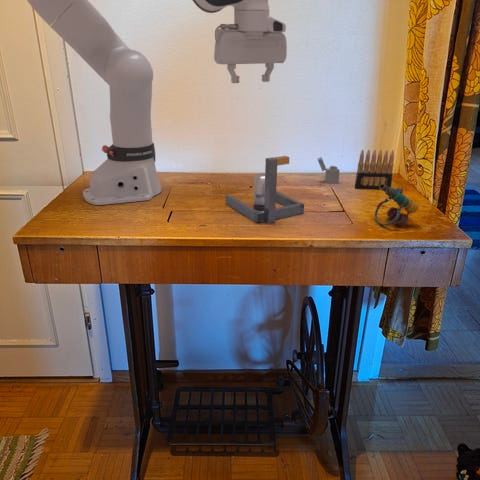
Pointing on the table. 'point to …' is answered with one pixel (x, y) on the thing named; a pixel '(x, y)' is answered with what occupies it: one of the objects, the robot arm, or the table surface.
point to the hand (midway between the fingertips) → (250, 82)
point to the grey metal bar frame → (269, 198)
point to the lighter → (329, 172)
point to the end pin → (259, 191)
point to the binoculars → (402, 202)
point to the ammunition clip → (374, 171)
